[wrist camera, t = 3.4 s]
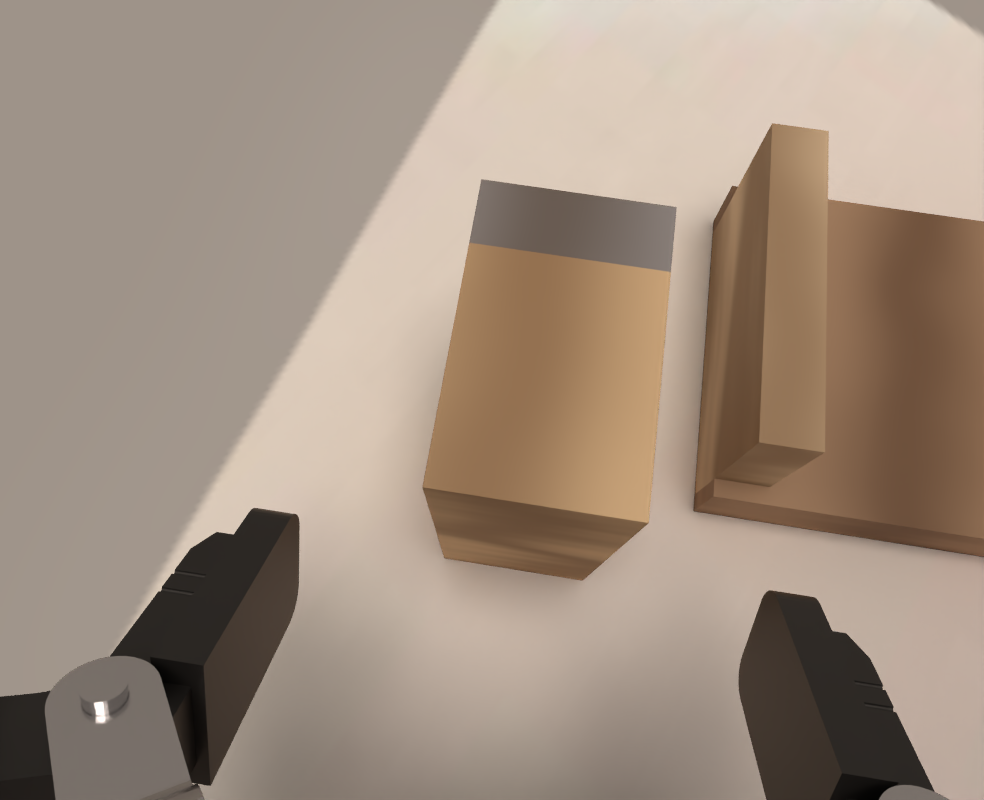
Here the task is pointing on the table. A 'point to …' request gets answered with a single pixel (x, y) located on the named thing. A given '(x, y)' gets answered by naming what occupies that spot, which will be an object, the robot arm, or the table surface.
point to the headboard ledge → (842, 360)
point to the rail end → (552, 381)
